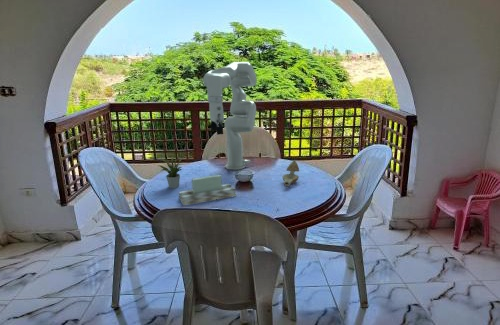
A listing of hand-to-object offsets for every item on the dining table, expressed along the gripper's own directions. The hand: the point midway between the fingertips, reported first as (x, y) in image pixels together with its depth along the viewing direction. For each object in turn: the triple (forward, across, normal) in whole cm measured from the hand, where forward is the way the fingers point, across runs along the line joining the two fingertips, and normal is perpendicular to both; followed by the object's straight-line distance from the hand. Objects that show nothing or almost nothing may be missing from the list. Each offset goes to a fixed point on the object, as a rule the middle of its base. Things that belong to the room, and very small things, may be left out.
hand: (217, 132), depth 176 cm
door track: (+27, -18, +12) cm, 35 cm away
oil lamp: (+28, -18, -34) cm, 48 cm away
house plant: (+28, +5, +23) cm, 36 cm away
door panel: (+26, -18, +12) cm, 34 cm away
